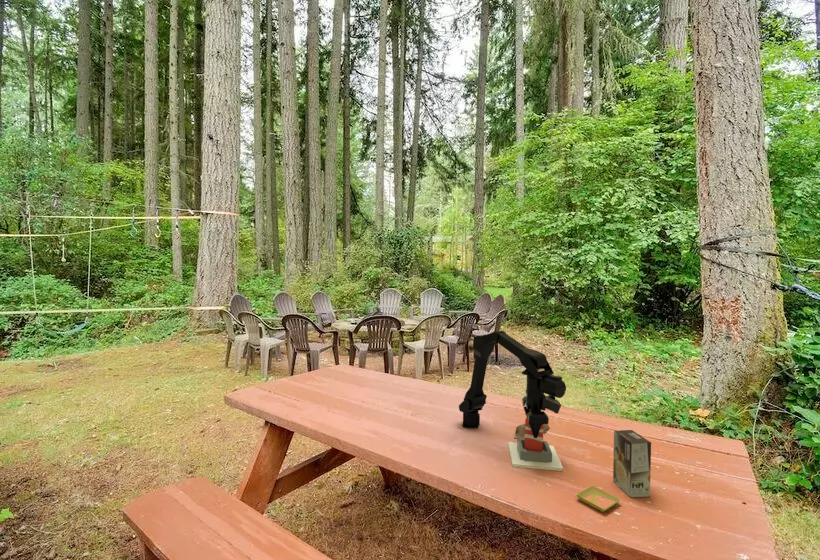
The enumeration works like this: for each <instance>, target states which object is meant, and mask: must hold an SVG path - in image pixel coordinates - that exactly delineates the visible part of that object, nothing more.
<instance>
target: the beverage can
mask: <svg viewBox="0 0 820 560" xmlns="http://www.w3.org/2000/svg"><path fill="white" fill-rule="evenodd" d="M527 418H528V415H527V416H526V418H525V421H524V424H525V447H524V448H525V449H526V450H527V451H537V452H542V451H543V441H544V433H543V426H544V424H542V425H541V428H540V431H539V434H538V437H537V438H534V436H533V434H532V431H531V428H530V425H529V422H528V419H527Z"/></svg>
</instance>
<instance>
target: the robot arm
mask: <svg viewBox="0 0 820 560" xmlns="http://www.w3.org/2000/svg"><path fill="white" fill-rule="evenodd" d="M497 344H498V345H499V346H501V347H502V348H504V349H505V350H507V351H508V352H510V353H511V354H512V355H514V356H515V357H516V358H517V359H518V360H519V362H520V365H522V366H523V368H525V369H524V370H523V371H521V375H523V376H526V389H525V394H526V395H525V396H523V397H522V399H521V400H522V401H521V403H522V406H523V410H524V412H525V416H526V418H527V415H528V418H527V419H528V422H529V425H530V428H531V431H532V434H533V436H534V438H537V437H538V434H539V431H540V428H541V425H542V424H548V425H549V420H550V419H549V416H548V414H547V413H546V412H545V411H546V410H548V411H551V412H553V413H554V414H559V412H560V410H561V407H562V404H561V403H560V401H559V400H558V399H561V398H563V397H564V396H565V394H566V390H567V386H566V383H565V381H564V380H563V376H560V375H554V374H555V372H554V370H553V368H552V366H551V365H550V363H549V361H548V360H547V356H546V355H545V354H544V353H542V352H540V351H538V350H535V349H532V348H528V347H526V346H525V345H523V344H522V343H520V342H519V341H517V340H516V339H515V338H513V337H512V336H511V335H509V334H507V333H506V331H504V330H494V331H493V332H490V333H487V334H481V335H476V336H474V338H473V345H472V349H473V351H474V354H475V358H474V364H473V369H472V375H471V381H470V387H469V388H468V390H467V391H466V392H465V395H464V397H463V400H462V402H461V403H460V404H458V408H459V409H458V410H459V412H461V413H462V428H469V429H470V428H471V429H479V426H480V424H481V423H480V419H481V418H480V416H481V415H480V413H479V411H482V410H483V407H484V406H485V405H486V404H487V397H488V395H487V394H485V392H484V390H483V389H484V388H483V387H484V383H485V377H486V372H487V365H488V360H489V357H490V356H491V354H492V353H493V351H494V349H495V346H496V345H497ZM556 398H557V399H556Z"/></svg>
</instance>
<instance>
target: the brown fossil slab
mask: <svg viewBox="0 0 820 560" xmlns="http://www.w3.org/2000/svg"><path fill="white" fill-rule="evenodd" d="M515 428H516V429H515V433H514V437H513V439H514V440H517V439H525V423H522V424H520V425H518V426H516V427H515ZM550 429H551V427H550V426H549V424H544V426H543V434H545V433H547V432H548V431H549V430H550Z"/></svg>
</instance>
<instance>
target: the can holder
mask: <svg viewBox="0 0 820 560" xmlns="http://www.w3.org/2000/svg"><path fill="white" fill-rule="evenodd" d="M507 445H508V450H509V455H510V456H509V457H510V460H511V465H512V467H513V468H519V469H520V468H521V469H534V470H546V471H559V472H563V471H564V467H563V465H562V463H561V460H560V458H559V456H558V453H557V451H556V448H555V447H554V445H549V443H548V441H547V440H543V451H542V452H537V451H527V450H526V449H525V448H524V447H525V439H516V442H509V441H508V443H507Z"/></svg>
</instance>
